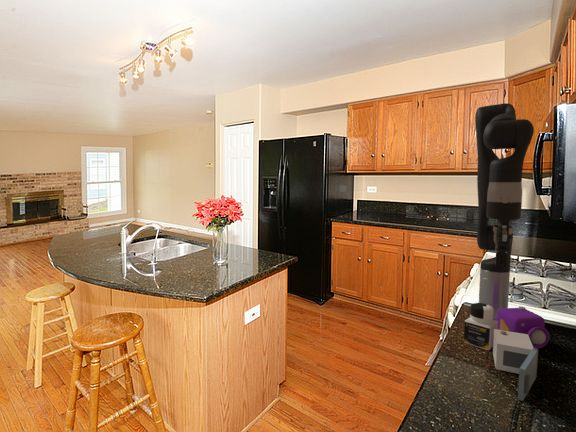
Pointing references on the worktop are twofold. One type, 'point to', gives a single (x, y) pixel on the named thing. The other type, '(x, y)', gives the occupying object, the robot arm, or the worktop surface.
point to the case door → (527, 374)
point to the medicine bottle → (480, 326)
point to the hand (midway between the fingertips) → (500, 266)
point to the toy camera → (523, 324)
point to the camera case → (510, 350)
